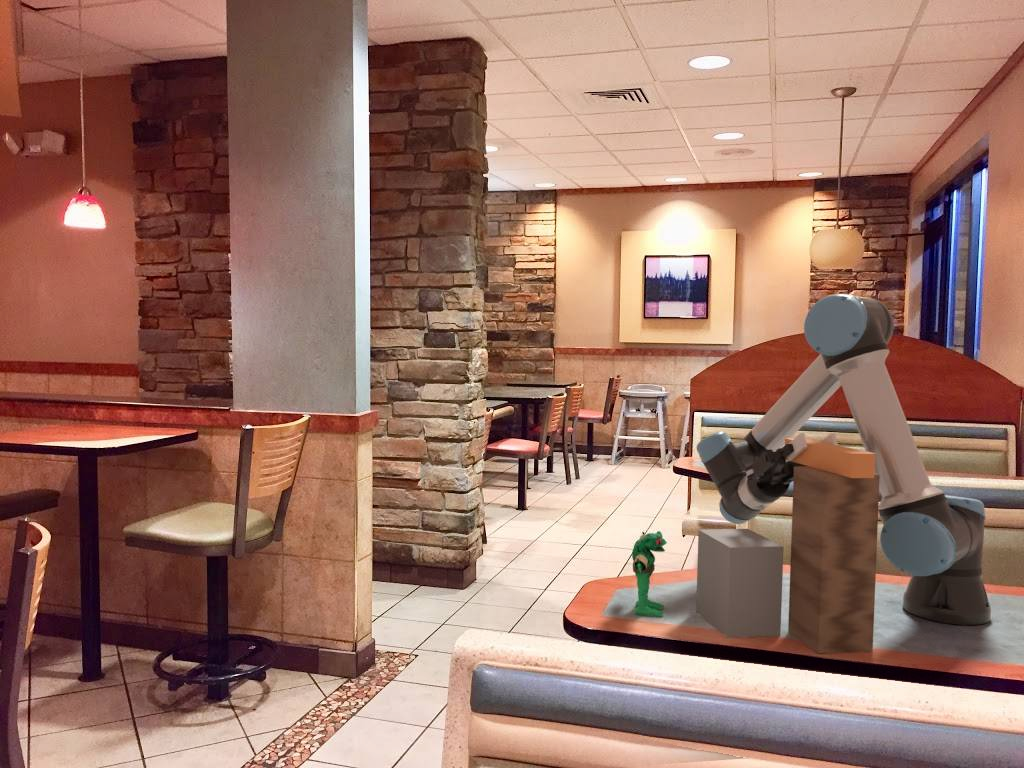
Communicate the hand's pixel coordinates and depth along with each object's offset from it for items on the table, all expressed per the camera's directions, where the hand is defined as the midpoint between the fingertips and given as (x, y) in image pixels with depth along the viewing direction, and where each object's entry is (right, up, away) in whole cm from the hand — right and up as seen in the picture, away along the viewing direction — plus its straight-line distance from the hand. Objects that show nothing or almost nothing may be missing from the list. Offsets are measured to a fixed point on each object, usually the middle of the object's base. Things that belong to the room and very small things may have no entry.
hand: (819, 440), depth 147 cm
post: (0, -35, -4) cm, 35 cm away
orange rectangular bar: (0, -5, -2) cm, 5 cm away
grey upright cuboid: (-13, -34, +5) cm, 37 cm away
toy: (-29, -34, +11) cm, 46 cm away
